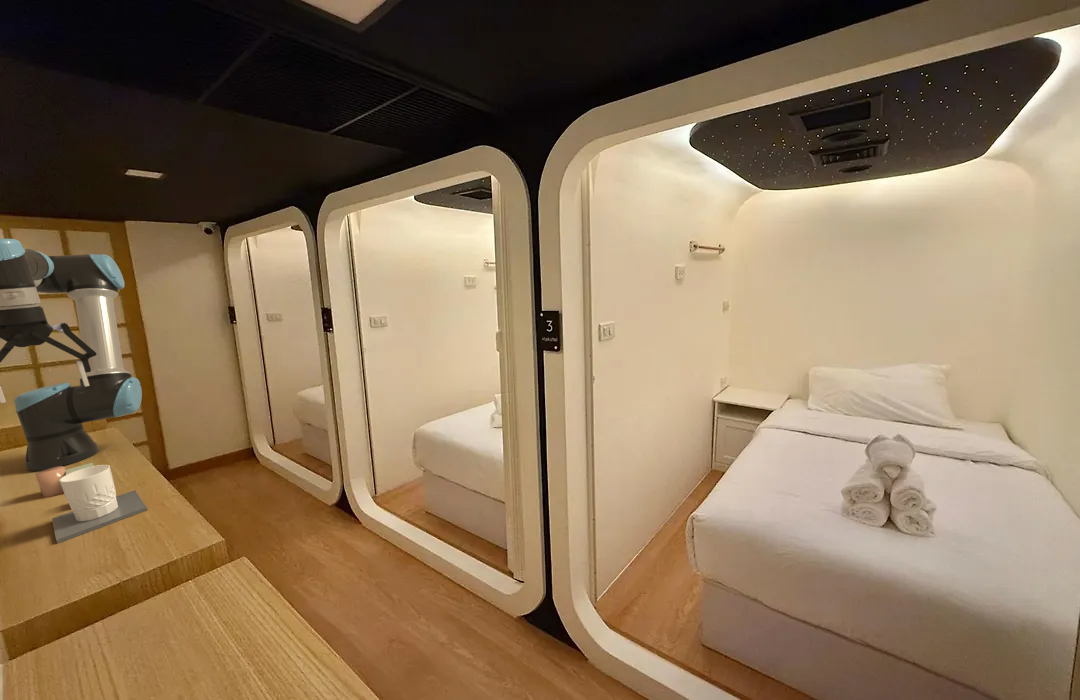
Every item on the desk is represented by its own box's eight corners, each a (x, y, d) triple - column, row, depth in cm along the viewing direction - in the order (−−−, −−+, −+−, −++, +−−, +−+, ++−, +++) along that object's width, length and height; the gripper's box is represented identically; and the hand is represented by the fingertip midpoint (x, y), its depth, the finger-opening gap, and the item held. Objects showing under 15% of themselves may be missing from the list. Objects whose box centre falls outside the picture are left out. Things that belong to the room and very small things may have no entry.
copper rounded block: (54, 488, 112) (46, 468, 111) (76, 485, 113) (69, 464, 112) (36, 498, 107) (29, 477, 106) (60, 495, 108) (53, 473, 107)
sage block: (71, 487, 112) (65, 470, 111) (97, 479, 116) (92, 462, 115) (71, 492, 109) (65, 475, 108) (99, 484, 113) (93, 467, 112)
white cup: (72, 515, 96) (59, 475, 94) (120, 499, 102) (108, 461, 100) (73, 528, 91) (58, 485, 89) (123, 510, 97) (111, 470, 95)
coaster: (52, 521, 96) (51, 518, 96) (135, 493, 106) (135, 490, 106) (57, 543, 87) (56, 540, 87) (147, 510, 98) (146, 506, 98)
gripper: (-76, 316, 87) (-38, 412, 92) (95, 300, 106) (119, 381, 111) (-73, 314, 91) (-37, 406, 96) (90, 299, 111) (114, 377, 116)
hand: (47, 393), depth 104 cm, fingers open, 13 cm apart
